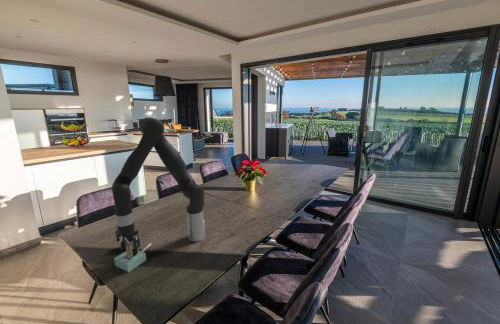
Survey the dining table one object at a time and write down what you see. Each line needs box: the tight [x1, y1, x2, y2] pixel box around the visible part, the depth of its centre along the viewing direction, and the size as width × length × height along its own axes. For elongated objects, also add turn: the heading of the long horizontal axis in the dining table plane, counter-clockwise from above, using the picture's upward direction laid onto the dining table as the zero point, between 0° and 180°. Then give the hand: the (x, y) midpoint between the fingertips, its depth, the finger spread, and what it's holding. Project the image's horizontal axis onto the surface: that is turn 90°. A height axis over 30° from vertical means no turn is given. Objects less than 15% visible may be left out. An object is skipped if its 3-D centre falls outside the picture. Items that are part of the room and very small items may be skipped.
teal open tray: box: [113, 249, 147, 273], centre depth 116 cm, size 10×10×4 cm
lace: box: [141, 242, 152, 253], centre depth 127 cm, size 10×1×1 cm, turn 168°
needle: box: [125, 242, 133, 260], centre depth 115 cm, size 3×3×12 cm
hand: (129, 251), depth 115 cm, fingers open, 8 cm apart
